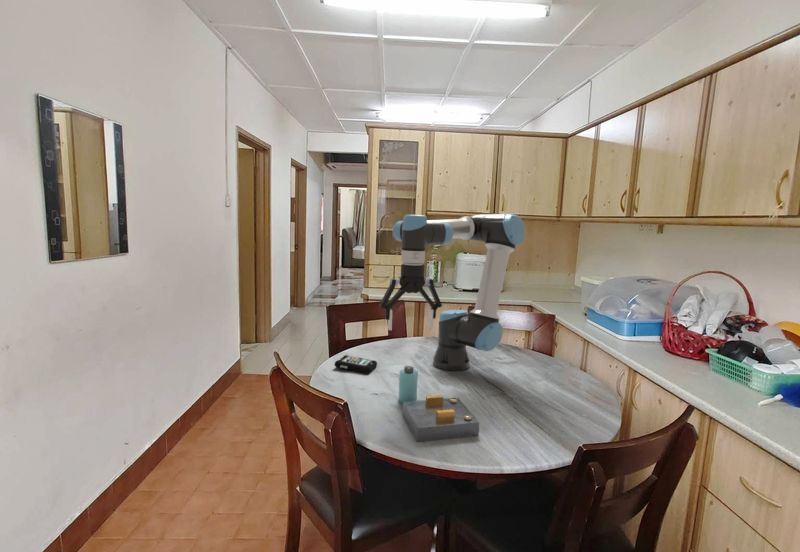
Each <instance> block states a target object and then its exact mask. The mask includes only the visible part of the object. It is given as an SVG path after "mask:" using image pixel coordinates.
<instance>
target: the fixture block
mask: <svg viewBox="0 0 800 552" xmlns="http://www.w3.org/2000/svg"><path fill="white" fill-rule="evenodd" d="M402 415H403V417H404V419H405V421H406V423H407V425H408V427H409V429H410V431H411V433H412V434H413V437H414V439H415V441H416V442H417V443H421V442H430V441H440V440H448V439H457V438H458V439H459V438H469V437H477V436H479V433H480V421H479V420H478V419H477V417H475V415H474V414H473V413H472V412H471V411H470V410H469V409H468V407H467V406H466V405H465V404H464V403H463V402H462V401H461V399H460V398H459V397H449V398H444V396H443V395H441V394H439V395H426V396H425V399H424V400H417V401H410V402H403V404H402Z"/></svg>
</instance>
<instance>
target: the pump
mask: <svg viewBox="0 0 800 552" xmlns="http://www.w3.org/2000/svg"><path fill="white" fill-rule="evenodd" d="M418 374H419V372H418V370H416V369H414V366H411V365H406V366H404V368H402V369H400V370H399V380H398V381H399V382H398V402H399V403H400V404H402V405H403V402H410V401H418V379H419V377H418V376H419V375H418Z"/></svg>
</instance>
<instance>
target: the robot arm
mask: <svg viewBox="0 0 800 552" xmlns="http://www.w3.org/2000/svg"><path fill="white" fill-rule="evenodd" d="M427 217H428V216H426V215H423V214H405V215H403V218H402V220H399V221H397V222H396V223H395V224H394V225H393V227H392V235H393V237H394V239H395V240H396V241H397V242H401V255H400V256H401V257H400V260H401V261H400V262H401V263H402V264H401V265H400V277H399V279H396V278H394V277H393V278H390V281H389V282H390V283H389V286H388V288H387V290H386V291H385V293H384V295H383V297H382V299H381V301H380V303H379V306H380V308H382V309H384V318H385V320H386V321H387V329H388V331H392V330H393V309H392V308H393V307H394V305H396V303H397V302H398V301H399V299H400V298H401V297H402V296H404V295H405V293H407V294H411V293H412V294H413V293H414V294H418V293H419V294H420V295H421V296H422V297H423V298H424V300H425V301H426V303H427V304H428V305H429V307H428V313H427V316H428V317H427V329H429V330H433V327H434V325H433V323H434V322H433V321H434V320H435V319H436V318H437V317H436V316H437V310H438V309H439V308H442V306H443V304H442V302H441V300H440V298H439V295H438V293H437V291H436V287H435V285H434V284H435V283H434V282H435V281H434V279H433V278H428V279H425V267H426V266H425V265H424V263H426V247H427V245H428V246H442V245H447V244H450V243H451V241H452V239H461V240H463V241H476V242H482V243H484V246H485V247H486V249H487V252H486V256H485V260H484V265H483V269H482V274H481V279H480V283H479V287H478V292H477V297H476V301H475V306H474V308H473V309H471V310H470V311H469V312H468V310H466V309H448V310H444V311H441V312H440V314H439V320H438V334H437V336H438V337H437V338H438V339H437V340H438V342H437V343H438V344H437V348H436V350H435V353H434V355H433V359H432V360H433V361H432V365H434V367H436V368H438V369H441V370H445V371H454V372H456V371H464V370H467V369H469V367H470V357H469V354H468V350H467V347H471V348H473V349H476V350H477V351H483V352H491V351H494V350H495V349H496V348H497V347H498V346H499V344H500V342H501V340H502V338H503V334H504V333H503V332H504V330H503V326H502V324H500V323H499V321H500V317H499V316H498V314H497V312H498V308H499V303H500V299H501V295H502V289H503V286H504V281H505V277H506V273H507V271H506V270H507V268H508V263H509V257H510V254H511V253H514V251H515V249H516V246H518V245H521V243H522V242H523V241H524V238H525V225H524V222H523V220H522V218H521V217H520V216H519V215H517V214H510V213H479V214H474V215H467V216H465V215H464V216H461V217H460V218H454V219H452V218H451V219H429V220H428V218H427ZM425 284H426V286H428V289H429V292H430V295H431V296H432V298H433V300H434V301H433V300H432V299H431V298H430V297H429V295H428V294H427V292H426V291H425V290H424V288H423V287H424V285H425ZM398 285H400V288H399V289H397V290H398V291H396V293H395V294H394V295H393V296H392V294H393V293H394V290H395V288H396V287H397V286H398ZM391 296H392V297H391ZM390 298H391V299H390ZM389 299H390V300H389Z"/></svg>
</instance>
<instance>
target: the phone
mask: <svg viewBox="0 0 800 552" xmlns="http://www.w3.org/2000/svg"><path fill="white" fill-rule="evenodd" d="M377 365H378V362H377V361H376V360H373V359H369V358H363V357H362V358H361V357H360V356H358V357H357V356H352V355H346V354H345V355H343V356H342V357H340V359H338V360H336V361H335V362H334V366H335V368H337V369H340V370H342V369H344V370H350V371H354V372H357V373H359V372H360V373H362V374H365V375H367V374H369V373H371V372H372V371H373V370H374V369H375V368H376V367H377Z"/></svg>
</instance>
